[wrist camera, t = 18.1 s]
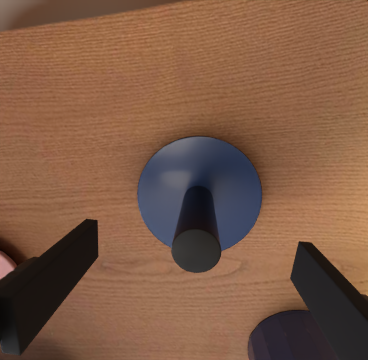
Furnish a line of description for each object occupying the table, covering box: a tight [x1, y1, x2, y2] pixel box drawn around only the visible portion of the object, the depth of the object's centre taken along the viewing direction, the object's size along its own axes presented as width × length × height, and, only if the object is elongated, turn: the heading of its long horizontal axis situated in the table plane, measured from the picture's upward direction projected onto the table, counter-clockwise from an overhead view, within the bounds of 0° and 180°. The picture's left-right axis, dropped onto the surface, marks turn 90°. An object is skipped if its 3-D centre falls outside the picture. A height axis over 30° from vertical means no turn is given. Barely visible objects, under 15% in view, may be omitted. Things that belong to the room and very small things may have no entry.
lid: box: [137, 136, 262, 273], centre depth 19 cm, size 14×14×11 cm
